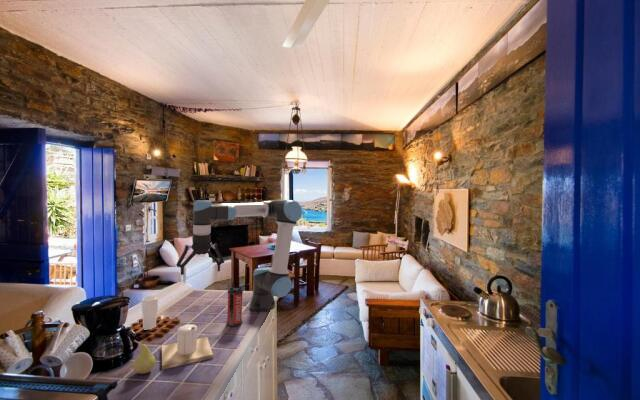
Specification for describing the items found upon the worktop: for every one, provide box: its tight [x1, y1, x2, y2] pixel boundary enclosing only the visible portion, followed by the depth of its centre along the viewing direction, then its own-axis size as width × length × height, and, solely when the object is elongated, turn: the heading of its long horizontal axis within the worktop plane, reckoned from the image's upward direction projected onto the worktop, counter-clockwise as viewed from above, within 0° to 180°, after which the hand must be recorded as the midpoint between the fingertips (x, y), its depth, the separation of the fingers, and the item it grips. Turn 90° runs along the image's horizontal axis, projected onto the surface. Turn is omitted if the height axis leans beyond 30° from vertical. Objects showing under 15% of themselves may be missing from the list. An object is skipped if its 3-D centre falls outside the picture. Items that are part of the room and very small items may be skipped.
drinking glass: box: [141, 295, 159, 331], centre depth 140 cm, size 7×7×15 cm
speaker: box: [226, 286, 244, 327], centre depth 149 cm, size 8×8×18 cm
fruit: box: [132, 339, 156, 375], centre depth 106 cm, size 7×8×12 cm
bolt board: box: [161, 336, 214, 371], centre depth 120 cm, size 18×16×8 cm
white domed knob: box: [176, 324, 198, 355], centre depth 120 cm, size 7×7×10 cm
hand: (200, 280), depth 133 cm, fingers open, 13 cm apart
